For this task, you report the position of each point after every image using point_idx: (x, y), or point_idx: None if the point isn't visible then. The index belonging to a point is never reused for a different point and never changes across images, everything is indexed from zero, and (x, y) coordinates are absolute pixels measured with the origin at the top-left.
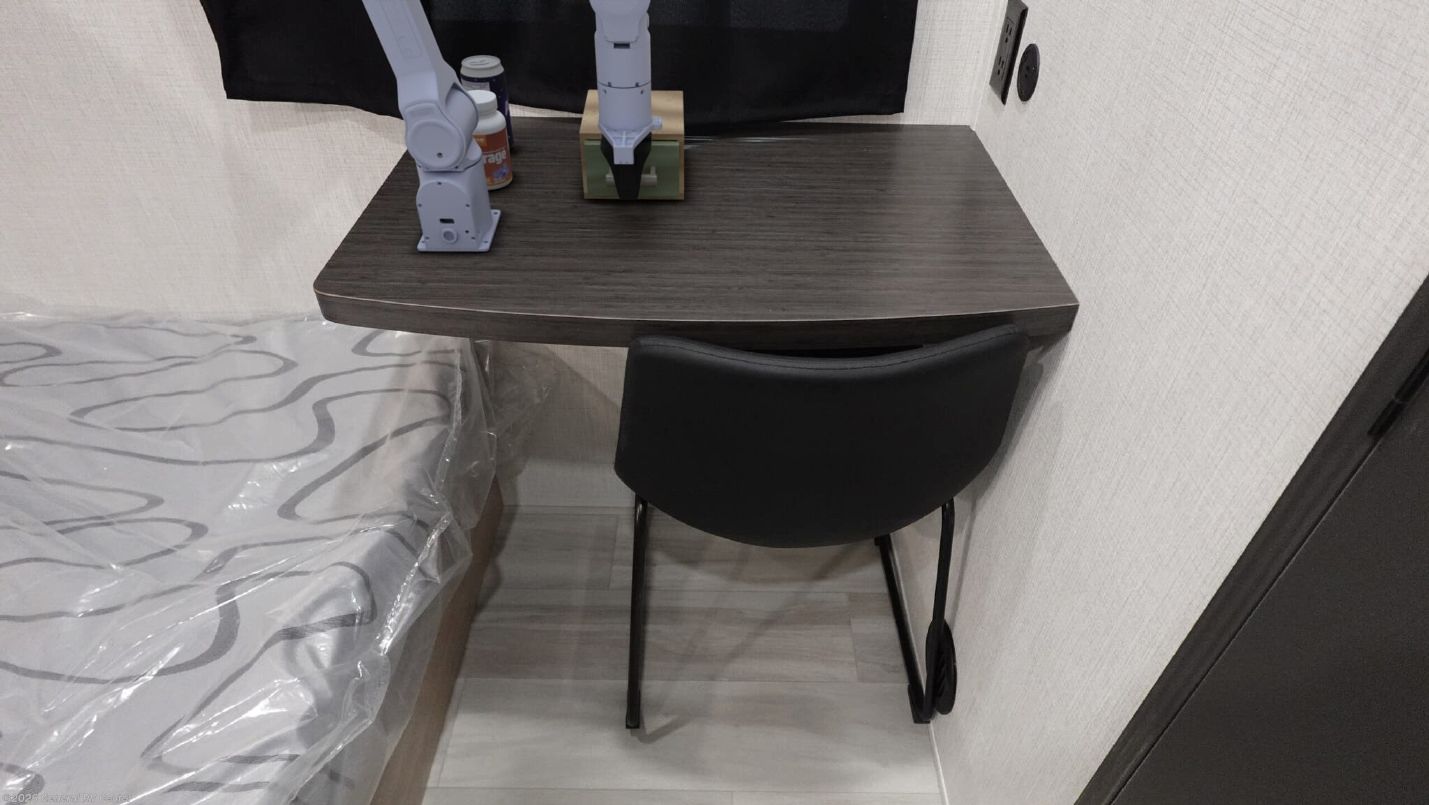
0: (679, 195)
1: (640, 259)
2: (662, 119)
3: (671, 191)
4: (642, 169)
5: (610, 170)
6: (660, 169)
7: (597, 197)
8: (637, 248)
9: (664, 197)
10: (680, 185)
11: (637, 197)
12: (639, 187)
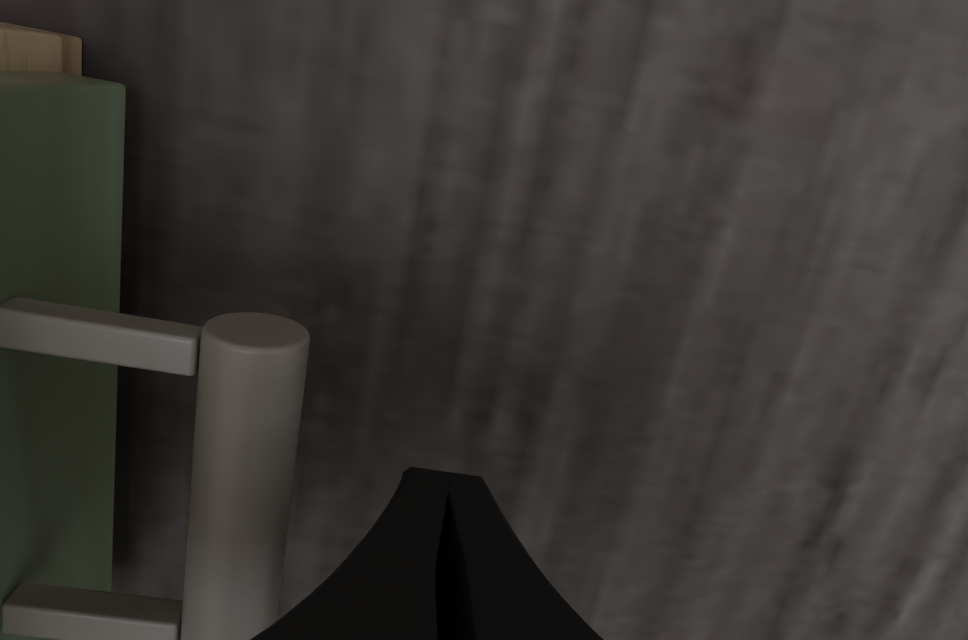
0: (67, 68)
1: (755, 403)
2: None
3: (106, 142)
4: (588, 627)
5: (91, 634)
6: (7, 255)
7: None
8: (646, 403)
9: None
10: (25, 59)
11: (484, 483)
12: (505, 518)
